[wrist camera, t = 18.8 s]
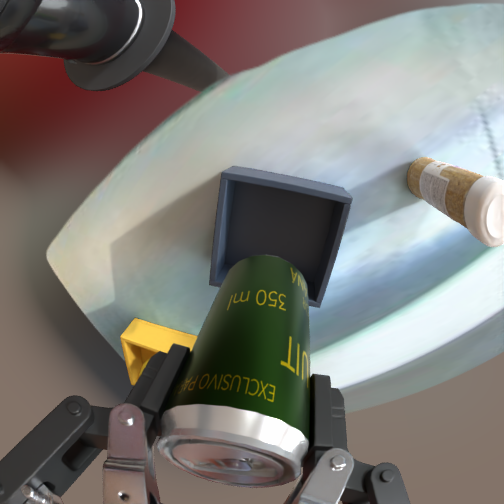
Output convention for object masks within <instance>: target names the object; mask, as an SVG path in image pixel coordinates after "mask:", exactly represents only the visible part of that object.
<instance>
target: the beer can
mask: <svg viewBox="0 0 504 504" xmlns="http://www.w3.org/2000/svg"><path fill="white" fill-rule="evenodd" d="M160 426H161V433H162V435H161V436H160V438H159V440H158V442H157V447H158V450H159V452H160V453H161V455H162V456H164V458H165V459H166V460H168V461H169V462H171V463H172V464H173V465H175V466H177V467H178V468H180V469H182V470H184V471H186V472H188V473H190V474H192V475H194V476H197V477H200V478H203V479H206V480H209V481H212V482H217V483H222V484H226V485H231V486H239V487H250V488H251V487H254V488H255V487H256V488H257V487H273V486H279V485H284V484H286V483H289V482H292V481H294V480H295V479H296V478H298V477H299V475H301V462H302V461H303V459H304V458H305V456H306V454H307V453H308V451H309V429H310V334H309V305H308V289H307V284H306V282H305V279H304V277H303V275H302V274H301V273H300V272H299V270H298V269H297V268H296V267H295V266H294V265H293V264H291V263H289V262H287V261H286V260H284V259H282V258H280V257H277V256H272V255H256V256H251V257H248V258H246V259H243V260H241V261H239V262H238V263H236V264H235V265H234V266H233V267H232V268H231V269H230V270H229V271H228V273H227V275H226V277H225V279H224V281H223V283H222V285H221V287H220V290H219V292H218V294H217V296H216V298H215V300H214V302H213V304H212V307H211V309H210V311H209V313H208V315H207V317H206V319H205V322H204V324H203V326H202V328H201V330H200V332H199V335H198V337H197V339H196V341H195V343H194V345H193V348H192V350H191V352H190V354H189V356H188V359H187V361H186V363H185V365H184V367H183V370H182V372H181V374H180V376H179V378H178V381H177V383H176V385H175V387H174V389H173V392H172V394H171V396H170V398H169V401H168V403H167V405H166V407H165V409H164V412H163V414H162V416H161V418H160Z"/></svg>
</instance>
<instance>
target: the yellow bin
mask: <svg viewBox="0 0 504 504" xmlns="http://www.w3.org/2000/svg"><path fill="white" fill-rule="evenodd" d="M197 337H198V336H195V335H191V334H188V333H184V332H180V331H177V330H173V329H170V328H167V327H163V326H160V325H157V324H153V323H150V322H147V321H144V320H141V319H137V318H134V320H133V321H132V322H131V323H130V325H129V326H128V327H127V329H126V330H125V331H124V333H123V334H122V335H121V336H120V338H121V343H122V348H123V352H124V357H125V361H126V365H127V369H128V374H129V378H130V381H131V385H135V383H136V382H137V380H138V378H139V375H140V371H141V368H142V366H143V364H144V363H145V361H146V360H147V359H148V358H150V357H151V356H153V355H155V354H156V353H157V352H159V351H162V352H165V353H168V351H169V349H170V347H171V346H172V344H173V343H176V344H179V345H182V346H186V347H190V352H191V350H192V348H193V345H194V343H195V341H196V339H197Z"/></svg>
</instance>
